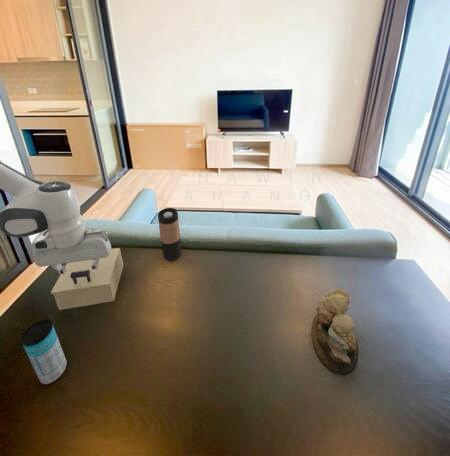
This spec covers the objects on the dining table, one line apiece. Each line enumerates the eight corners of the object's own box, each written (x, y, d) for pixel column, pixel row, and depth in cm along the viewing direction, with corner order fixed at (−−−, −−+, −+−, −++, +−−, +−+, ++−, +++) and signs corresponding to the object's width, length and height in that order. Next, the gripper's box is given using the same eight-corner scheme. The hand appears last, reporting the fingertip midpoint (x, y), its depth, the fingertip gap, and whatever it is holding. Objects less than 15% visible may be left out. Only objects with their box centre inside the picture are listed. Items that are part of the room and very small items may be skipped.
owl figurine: (366, 387, 58) (381, 339, 52) (314, 374, 61) (323, 327, 55) (349, 316, 75) (359, 273, 69) (309, 308, 77) (315, 266, 71)
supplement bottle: (63, 353, 66) (49, 314, 61) (70, 371, 62) (55, 331, 57) (37, 372, 62) (19, 332, 57) (42, 392, 58) (23, 351, 53)
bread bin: (113, 301, 81) (109, 283, 78) (59, 310, 78) (52, 292, 75) (123, 265, 95) (120, 249, 92) (77, 272, 92) (72, 255, 90)
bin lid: (108, 285, 77) (105, 273, 75) (51, 294, 74) (46, 282, 73) (120, 249, 92) (117, 238, 91) (72, 255, 90) (69, 244, 88)
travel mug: (159, 258, 98) (153, 216, 91) (169, 246, 105) (165, 206, 98) (175, 263, 95) (170, 220, 88) (185, 250, 102) (181, 209, 95)
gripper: (109, 222, 76) (117, 257, 80) (36, 231, 72) (49, 267, 77) (103, 235, 70) (112, 272, 75) (23, 245, 66) (38, 283, 71)
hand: (79, 270), depth 76 cm, fingers open, 8 cm apart
